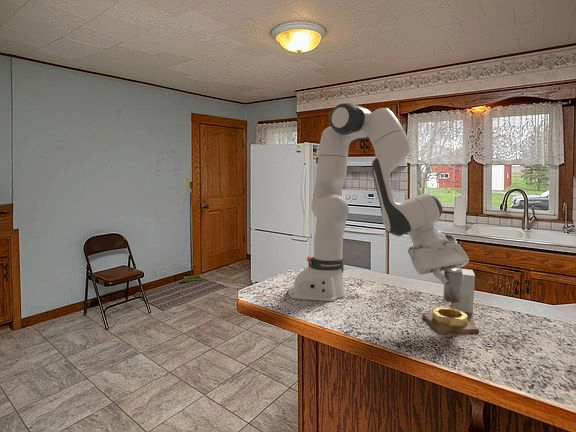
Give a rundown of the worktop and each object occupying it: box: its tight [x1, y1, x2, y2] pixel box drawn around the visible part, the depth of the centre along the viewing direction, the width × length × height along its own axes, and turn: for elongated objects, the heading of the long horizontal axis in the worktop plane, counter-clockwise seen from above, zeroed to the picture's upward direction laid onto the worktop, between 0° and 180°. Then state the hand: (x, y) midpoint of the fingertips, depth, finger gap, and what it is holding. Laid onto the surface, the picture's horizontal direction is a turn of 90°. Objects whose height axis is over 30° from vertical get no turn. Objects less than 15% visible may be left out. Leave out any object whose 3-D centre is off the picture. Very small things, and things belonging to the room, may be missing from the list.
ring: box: [431, 307, 468, 327], centre depth 111 cm, size 9×9×2 cm
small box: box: [451, 268, 476, 314], centre depth 125 cm, size 8×6×13 cm
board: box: [422, 313, 480, 334], centre depth 112 cm, size 12×12×1 cm
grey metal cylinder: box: [442, 267, 463, 304], centre depth 110 cm, size 5×5×10 cm
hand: (454, 281), depth 109 cm, fingers closed on grey metal cylinder, 5 cm apart
